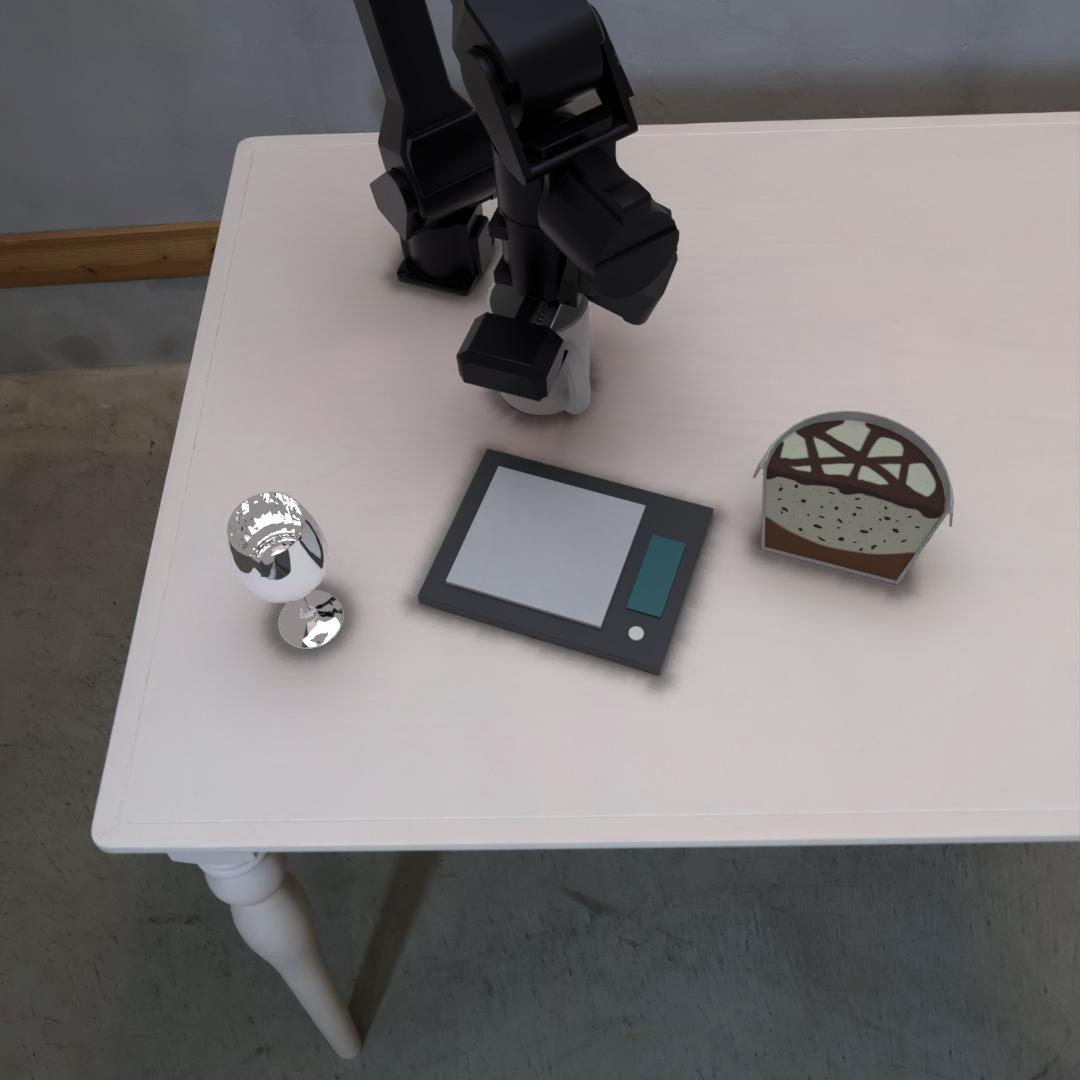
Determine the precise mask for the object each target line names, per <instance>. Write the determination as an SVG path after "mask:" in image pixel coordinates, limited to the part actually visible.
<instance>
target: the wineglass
mask: <svg viewBox="0 0 1080 1080" xmlns="http://www.w3.org/2000/svg"><path fill="white" fill-rule="evenodd" d="M226 539H227V540H226V541H227V548H228V554H229V559H230V562H231V566H232V569H233V571H234V573H235V575H236V576H237V579H238V580H239V582H240V583H241V584H242V586H243V587H244V588H245V589H246V590H247V591H248V592H249V593H251V594H252V595H253V596H255V597H256V598H258V599H260V600H262V601H265V602H269V603H275V604H284V606H283V608H281V611H280V613H279V617H278V631H279V633H280V636H281V637H282V639H283V640H284V641H285V642H286V643H287V644H288V645H290V646H291V647H294V648H296V649H297V648H298V649H302V650H312V649H317V648H320V647H323V646H325V645H327V644H329V643H330V642H331V641H332V640H334V639H335V638H336V636H337V635H338V634H339V633H340V631H341V630H342V627H343V624H344V618H345V614H344V608H343V605H342V604H341V602H340V601H339V600H338V598H336V597H335V596H334V594H333V595H332V594H331V593H330V592H327V591H323V590H317V587H319V585H320V584H321V582H322V581H323V579H324V577H325V576H326V573H327V570H328V567H329V557H330V556H329V548H328V543H327V539H326V537H325V534H324V531H323V530H322V528H321V526H320V525H319V524H318V522H317V521H316V519H315V518H314V516H313V515H312V514H311V512H309V511H308V510H307V508H306V507H305V506H304V505H303V504H302V503H300V502H299V501H298V500H297V499H296V498H294V497H292V496H291V495H289V494H287V493H283V492H280V491H268V492H267V491H266V492H260V493H258V494H254V495H252V496H250V497H248V498H246V499H245V500H243V501H242V502H240V504H239V505H237V506H236V508H235V509H234V510H233V511H232V513H231V514H230V516H229V518H228V522H227V525H226Z"/></svg>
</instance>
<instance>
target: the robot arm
mask: <svg viewBox="0 0 1080 1080" xmlns="http://www.w3.org/2000/svg"><path fill="white" fill-rule="evenodd" d="M352 2H353V4H354V7H355V11H356V14H357V16H358V19H359V23H360V26H361V29H362V32H363V35H364V38H365V40H366V44H367V46H368V49H369V52H370V55H371V58H372V61H373V65H374V68H375V70H376V73H377V76H378V79H379V82H380V86H381V89H382V91H383V95H384V98H385V104H384V110H383V114H382V119H381V123H380V129H379V133H378V138H377V145H378V149H379V153H380V156H381V160H382V163H383V166H384V171H385V172H383V173H382V174H380V175H379V176H378V177H377V178H375V179H374V180H373V181H371V182H370V183H369V187H370V190H371V193H372V197H373V199H374V202H375V205H376V208H377V210H378V211H379V212H380V213H381V214H382V216H383V217H384V218H385V219H386V221H387V222H388V223H389V224H390V226H392V228H393V229H394V230H395V231H396V232H397V234H398V236H399V241H400V247H401V251H402V255H403V256H402V257H403V260H402V261H401V262H400V265H399V267H398V268H397V270H396V277H397V279H398V280H399V281H402V282H407V283H411V284H416V285H419V286H423V287H427V288H433V289H436V290H440V291H445V292H449V293H453V294H456V295H457V294H458V295H462V296H467V295H469V294H470V293H471V292H472V290H473V288H474V286H475V285H476V282H477V281H478V279H479V277H480V276H482V275H483V274H484V272H485V270H486V268H487V266H488V264H489V263H490V261H491V259H492V256H493V254H494V251H493V250H494V248H495V246H496V239H497V240H501V250H502V254H501V256H500V258H499V260H498V262H497V264H496V266H495V268H494V270H493V272H492V273H493V281H494V282H495V283H497V284H502V285H506V286H510V287H513V290H514V291H515V292H516V293H517V294H519V295H520V296H522V297H524V299H523V301H522V303H521V305H520V307H519V309H518V312H517V314H516V316H515V318H510V317H506V316H501V315H497V314H493V313H489V312H487V311H486V312H484V313H482V314H480V315H479V316H477V317H475V318H474V320H473V321H472V323H471V325H470V327H469V330H468V331H467V333H466V335H465V338H464V339H463V341H462V343H461V345H460V347H459V349H458V351H457V353H456V356H455V358H456V362H457V363H456V365H457V369H458V374H459V376H460V379H461V380H462V382H463V383H465V384H469V385H472V386H476V387H481V388H483V389H484V388H485V389H489V390H491V391H497V392H499V391H500V392H503V393H507V394H511V395H515V396H519V397H523V398H527V399H530V400H534V401H538V402H540V401H541V400H542V399H543V398H545V397H548V395H549V392H550V390H551V388H552V386H553V383H554V381H555V379H556V378H557V376H558V374H559V372H560V369H561V367H562V365H563V363H564V360H565V358H566V356H567V354H568V352H569V351H568V350H564V340H563V339H562V338H561V337H560V336H559V335H558V334H557V333H556V332H555V331H554V330H552V329H551V328H552V326H553V323H554V321H555V319H556V317H557V315H558V313H559V310H560V308H561V306H562V304H563V305H567V306H571V307H576V308H578V306H579V304H580V301H581V299H582V294H584V296H585V297H586V298H587V299H588V300H589V302H591V303H592V304H594V305H596V306H598V307H601V309H604V310H606V311H608V312H610V313H613V314H614V315H616V316H619V317H621V318H622V319H623V321H624V322H626V323H628V324H630V325H634V326H641V325H644V324H646V322H647V321H648V319H649V318H650V317H651V315H652V314H653V312H654V310H655V308H657V305H658V304H659V302H660V301H661V300H662V297H663V296H664V294H665V292H666V290H667V288H668V285H669V283H670V281H671V278H672V275H673V272H674V271H675V268H676V265H677V262H678V259H679V258H678V250H679V249H678V248H679V247H678V245H679V242H680V230H679V229H678V226H677V224H676V220H675V219H674V218H673V215H672V214H673V212H672V209H671V208H668V207H667V206H665V205H663V204H660V203H659V202H657V201H656V200H655V199H654V198H653V197H652V194H651V193H650V191H649V190H648V189H646V188H645V187H644V186H643V184H641V183H640V182H639V181H638V180H636V179H635V178H633V177H631V176H630V175H629V174H628V173H627V172H626V171H625V170H624V169H623V168H622V167H621V166H620V165H619V163H618V161H617V142H619V141H621V140H623V139H625V138H627V137H630V136H632V135H633V134H635V133H638V132H639V124H638V122H637V119H636V116H635V113H634V109H633V106H632V103H631V99H632V98H633V97H634V96H635V93H634V91H633V89H632V86H631V84H630V81H629V80H628V77H627V75H626V72H625V71H624V68H623V65H622V63H621V61H620V58H619V56H618V54H617V52H616V51H617V50H616V48H615V47H614V44H613V41H612V39H611V37H610V35H609V32H608V30H607V28H606V25H605V23H604V20H603V18H602V16H601V14H600V13H599V11H598V9H597V8H596V7H594V5H593V4H592V3H590V1H588V0H449V2H450V3H451V5H452V23H451V24H452V25H451V48H452V51H453V53H454V56H455V57H456V59H457V61H458V63H459V67H460V75H461V79H462V82H463V85H464V88H465V90H466V93H467V95H468V97H469V100H470V101H471V103H472V105H473V106H472V105H471V104H470V103H469V102H468V101H467V100H466V99H465V98H464V97H463V96H462V95H461V94H459V92H457V91H456V90H455V89H454V88H453V86H452V84H451V81H450V78H449V75H448V71H447V68H446V64H445V61H444V58H443V55H442V52H441V47H440V44H439V41H438V38H437V35H436V31H435V28H434V25H433V20H432V18H431V15H430V10H429V7H428V4H427V1H426V0H352ZM593 93H596V95H597V96H598V98H599V100H600V104H598V105H596V106H594V107H592V108H589V109H587V110H585V111H583V112H581V113H576V112H575V111H574V110H573V109H572V108H571V107H570V106H569V104H571V103H573V102H575V101H578V100H579V99H582V98H584V97H587V96H588V95H590V94H593ZM495 199H496V201H497V206H496V208H495V211H494V212H493V214H492V216H491V218H489V217H488V216H487V215H484V209H483V204H484V203H486V202H488V201H494V200H495ZM500 392H499V393H500Z"/></svg>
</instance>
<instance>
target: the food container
mask: <svg viewBox="0 0 1080 1080" xmlns="http://www.w3.org/2000/svg"><path fill="white" fill-rule="evenodd" d="M761 469H762V497H761V498H762V499H761V500H762V503H761V531H760V533H761V535H760V543H761V544H760V550H762V551H766V552H769V553H773V554H778V555H782V556H786V557H789V558H792V559H797V560H800V561H804V562H808V563H813V564H817V565H820V566H824V567H828V568H831V569H836V570H839V571H844V572H847V573H851V574H855V575H859V576H863V577H867V578H870V579H874V580H878V581H882V582H886V583H890V584H893V585H899V584H900V583H901V581H902V580H903V579H904V577H905V575H906V574H907V573H908V572H909V570H910V569H911V568H912V566H913V564H914V563H915V561H916V560H917V559H918V557H919V556H920V554H922V552H923V550H924V549H925V547H926V546H927V544H928V543H929V541H930V540H931V538H932V537H933V536H934V534H935V533H936V531H937V530H938V529H939V527H940V526H941V524H942V523H943V521H945V518H946V517H948V515H949V521H948V522H949V523H948V527H949V528H951V527H953V519H954V509H955V507H954V506H955V497H954V488H953V486H952V481H951V477H950V474H949V472H948V470H947V468H946V465H945V464H944V461H943V460H942V457H940V455H939V453H937V452H936V450H935V448H934V447H933V446H931V444H930V443H929V442H928V441H927V440H926V439H925V438H924V437H922V436H921V435H919V434H918V433H917V432H916V431H914V430H913V429H911V428H910V427H908V426H906V425H904V424H903V423H901V422H898V421H896V420H894V419H891V418H889V417H887V416H883V415H880V414H877V413H873V412H866V411H861V410H836V411H835V410H834V411H833V410H832V411H828V412H822V413H818V414H814V415H812V416H809V417H806V418H804V419H802V420H800V421H798V422H796V423H795V424H792V425H791V426H790V427H789V428H787V429H786V430H785V431H783V432H782V433H781V434H780V435H778V437H777V438H776V439H775V440H774V441H773V442H772V443H771V444H770V445H769V447H768V449H767V450H766V451H765V452H764V455H763V456H762V458H761V460H760V461H759V463H758V465H757V466H756V469H755V471H754V473H753V476H752V479H756V478H757V477H758V475H759V473H760V472H761Z"/></svg>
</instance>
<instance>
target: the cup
mask: <svg viewBox="0 0 1080 1080" xmlns="http://www.w3.org/2000/svg"><path fill="white" fill-rule="evenodd" d="M523 299H524V297H522V296H520V295H519V294H517V293H516V292H515V291H514V290H513V287H510V286H506V285H502V284H497V283H495V282H494V280H493V281H492V283H491V284H490V286H489V288H488V289H487V292H486V298H485V305H486V306H485V307H486V312H489V313H493V314H497V315H501V316H506V317H510V318H515V316H516V314H517V312H518V309H519V307H520V305H521V303H522V301H523ZM551 329H552V330H554V331H555V332H556V333H557V334H558V335H559V336H560V337H561V338H562V339H563V340H564V350H568V351H569V352H568V354H567V356H566V358H565V360H564V363H563V365H562V367H561V369H560V372H559V374H558V376H557V378H556V379H555V381H554V383H553V386H552V388H551V390H550V392H549V395H548V397H545V398H543V399H542V400H541V401H540V402H538V401H534V400H530V399H527V398H523V397H519V396H515V395H511V394H507V393H503V392H500V391H498V393H499V394H500V396H501V398H502V399H503V400H504V401H505V402H506V403H507V404H508V405H509V406H510V407H513V408H514V409H516V410H518V411H520V412H522V413H525V414H529V415H531V416H532V415H533V416H548V415H556V414H558V413H561V412H563V411H565V412H567V413H568V414H570V415H581V414H583V413H584V412H585V410H586V409H587V408H588V407H589V405H590V404H591V399H592V387H591V380H590V375H591V374H590V373H591V353H590V350H591V349H590V301H589V300H588V299H587V298H586V297H585V296H584V294H582V299H581V301H580V304H579V306H578V308H576V307H571V306H567V305H563V304H562V306H561V308H560V310H559V313H558V315H557V317H556V319H555V321H554V323H553V326H552V328H551Z"/></svg>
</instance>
